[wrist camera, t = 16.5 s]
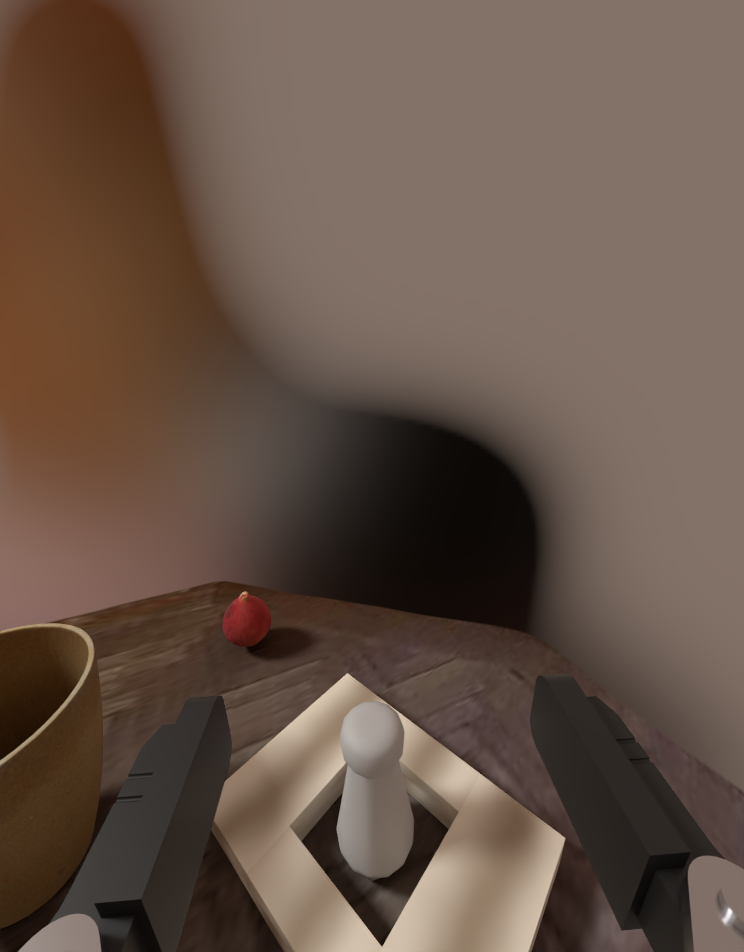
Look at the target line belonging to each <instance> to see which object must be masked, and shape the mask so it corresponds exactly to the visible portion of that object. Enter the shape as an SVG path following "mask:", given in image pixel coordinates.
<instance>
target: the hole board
mask: <svg viewBox="0 0 744 952" xmlns="http://www.w3.org/2000/svg"><path fill="white" fill-rule="evenodd" d="M370 701H378V702H381V703H384V704H387V703H386V702H385V701H383V700H382V699H381V698H379V697H378V696H377V695H375V694H374V693H373V692H371V691H370V690H369V689H367V688H366V687H365V686H363V685H362V684H361V683H359V682H358V681H357V680H356V679H354V678H353V677H352V676H350V675H349V674H348V673H347V674H346V675H345V676H344V677H343V678H342V679H340V680H339V681H338V682H337V683H336V684H335V685H334V686H332V687H331V688H330V689H329V690H328V691H327V692H326V693H325V694H323V695H322V696H321V697H320V698H319V699H318V700H317V701H315V702H314V703H313V704H312V705H311V706H310V707H309V708H308V709H306V710H305V711H304V712H303V713H302V714H301V715H300V716H298V717H297V718H296V719H295V720H294V721H293V722H292V723H291V724H289V725H288V726H287V727H286V728H285V729H284V730H283V731H281V732H280V733H279V734H278V735H277V736H276V737H275V738H274V739H272V740H271V741H270V742H269V743H268V744H267V745H266V746H264V747H263V748H262V749H261V750H260V751H259V752H258V753H257V754H255V755H254V756H253V757H252V758H251V759H250V760H249V761H247V762H246V763H245V764H244V765H243V766H242V767H241V768H240V769H238V770H237V771H236V772H235V773H234V774H233V775H232V776H230V777H229V778H228V779H227V780H226V781H225V782H224V786H223V789H222V793H221V796H220V800H219V803H218V807H217V811H216V814H215V818H214V821H213V825H212V828H211V830H212V832H213V834H214V835H215V837H216V839H217V840H218V842H219V844H220V845H221V847H222V849H223V851H224V852H225V854H226V856H227V857H228V859H229V861H230V862H231V864H232V866H233V867H234V869H235V871H236V872H237V874H238V876H239V877H240V879H241V881H242V882H243V884H244V886H245V887H246V889H247V891H248V892H249V894H250V896H251V898H252V899H253V901H254V903H255V904H256V906H257V908H258V909H259V911H260V913H261V914H262V916H263V918H264V919H265V921H266V923H267V924H268V926H269V928H270V929H271V931H272V933H273V934H274V936H275V938H276V940H277V941H278V943H279V945H280V946H281V948H282V950H283V951H284V952H531V951H532V948H533V945H534V942H535V939H536V936H537V933H538V930H539V926H540V923H541V920H542V917H543V914H544V911H545V908H546V905H547V902H548V898H549V895H550V892H551V889H552V886H553V883H554V880H555V877H556V874H557V870H558V867H559V864H560V860H561V856H562V851H563V847H564V842H565V838H564V837H563V836H562V835H560V834H559V833H558V832H557V831H555V830H554V829H553V828H551V827H550V826H549V825H547V824H546V823H545V822H543V821H542V820H541V819H539V818H538V817H537V816H535V815H534V814H533V813H531V812H530V811H529V810H527V809H526V808H525V807H523V806H522V805H521V804H519V803H518V802H517V801H516V800H514V799H513V798H512V797H510V796H509V795H508V794H506V793H505V792H504V791H502V790H501V789H500V788H498V787H497V786H496V785H494V784H493V783H492V782H490V781H489V780H488V779H486V778H485V777H484V776H482V775H481V774H480V773H478V772H477V771H476V770H475V769H473V768H472V767H471V766H469V765H468V764H467V763H465V762H464V761H463V760H461V759H460V758H459V757H457V756H456V755H455V754H453V753H452V752H451V751H449V750H448V749H447V748H445V747H444V746H443V745H441V744H440V743H439V742H437V741H436V740H435V739H434V738H432V737H431V736H430V735H428V734H427V733H426V732H424V731H423V730H422V729H420V728H419V727H418V726H416V725H415V724H414V723H412V722H411V721H410V720H408V719H407V718H406V717H404V716H403V715H402V714H400V713H399V712H398V711H397V710H395V709H394V708H393V707H391V706H390V705H389V704H387V705H389V706H390V707H391V708H392V709H393V710H395V711H396V712H397V713H398V715H399V717H400V720H401V722H402V725H403V728H404V732H405V734H404V746H403V755H402V756H401V758H400V760H399V763H400V767H401V771H402V775H403V779H404V783H405V787H406V790H407V792H408V793H409V794H411V795H412V796H413V797H414V798H415V799H416V800H417V801H418V802H419V803H420V804H422V805H423V806H424V807H425V808H426V809H427V810H428V811H429V812H430V813H431V814H433V815H434V816H435V817H436V818H437V819H438V820H439V821H440V822H441V823H442V824H444V825H445V826H446V827H447V828H448V829H449V830H448V832H447V834H446V836H445V837H444V839H443V841H442V843H441V844H440V846H439V848H438V850H437V851H436V853H435V855H434V857H433V858H432V860H431V862H430V864H429V865H428V867H427V869H426V871H425V872H424V874H423V876H422V878H421V880H420V881H419V883H418V885H417V887H416V888H415V890H414V892H413V894H412V895H411V897H410V899H409V901H408V902H407V904H406V906H405V908H404V909H403V911H402V913H401V915H400V917H399V918H398V920H397V922H396V924H395V925H394V927H393V929H392V931H391V932H390V934H389V936H388V938H387V939H386V941H385V943H384V945H383V946H381V945H380V944H379V943H378V941H377V940H376V939H375V937H374V936H373V935H372V933H371V932H370V931H369V929H368V928H367V927H366V926H365V924H364V923H363V922H362V920H361V919H360V918H359V916H358V915H357V914H356V913H355V911H354V910H353V909H352V907H351V906H350V905H349V903H348V902H347V901H346V900H345V898H344V897H343V896H342V894H341V893H340V892H339V890H338V889H337V888H336V886H335V885H334V884H333V883H332V881H331V880H330V879H329V877H328V876H327V875H326V873H325V872H324V871H323V870H322V868H321V867H320V866H319V864H318V863H317V862H316V860H315V859H314V858H313V856H312V855H311V854H310V853H309V851H308V850H307V849H306V847H305V846H304V845H303V843H302V842H301V841H302V840H303V839H304V838H305V836H306V835H307V834H308V833H309V832H310V831H311V829H312V828H313V827H314V826H315V825H316V823H317V822H318V821H319V820H320V819H321V818H322V816H323V815H324V814H325V813H326V812H327V810H328V809H329V808H330V807H331V806H332V805H333V803H334V802H335V801H336V800H337V799H338V797H339V796H340V795H341V794H342V793H343V789H344V784H345V778H346V772H347V767H348V764H347V763H346V762H345V760H344V758H343V753H342V748H341V743H340V734H341V729H342V725H343V720H344V718H345V716H346V715H347V714H348V713H349V711H350V710H351V709H352V708H353V707H355V706H357V705H359V704H361V703H363V702H370Z"/></svg>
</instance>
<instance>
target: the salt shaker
mask: <svg viewBox="0 0 744 952" xmlns="http://www.w3.org/2000/svg"><path fill="white" fill-rule="evenodd" d="M404 734H405V732H404V728H403V725H402V722H401V720H400V717H399V715H398V713H397V712H396V711H395V710H393V709H392V708H391V707H390V706H389V705H387V704H384V703H381V702H378V701H370V702H363V703H361V704H359V705H357V706H355V707H353V708H352V709H351V710H350V711H349V713H348V714H347V715H346V716H345V718H344V720H343V725H342V729H341V734H340V743H341V748H342V753H343V758H344V760H345V762H346V763H347V764H348V767H347V772H346V778H345V784H344V789H343V795H342V801H341V806H340V812H339V817H338V823H337V828H336V829H337V835H338V841H339V846H340V851H341V854H342V855H343V857H344V858H345V860H346V861H347V862H348V864H349V865H350V867H351V868H352V870H353V871H355V872H357V873H359V874H361V875H363V876H365V877H367V878H369V879H370V880H371V881H374V880H376V879H379V878H383V877H389V876H390V875H391V874H392V873H394V872H395V871H396V870H398V869H399V868H400V867H401V866H402V865H404V862H405V860H406V858H407V856H408V853H409V851H410V849H411V847H412V844H413V833H414V818H413V814H412V810H411V806H410V802H409V798H408V794H407V790H406V787H405V783H404V779H403V775H402V771H401V767H400V763H399V760H400V758H401V756H402V755H403V746H404Z"/></svg>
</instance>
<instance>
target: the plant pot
mask: <svg viewBox="0 0 744 952" xmlns="http://www.w3.org/2000/svg"><path fill="white" fill-rule="evenodd" d="M102 759H103V716H102V702H101V689H100V681H99V673H98V666H97V659H96V654H95V649H94V644H93V642H92V639H91V638H90V636H89V635H88V634H87V633H86V632H85V631H83V630H82V629H80V628H77V627H74V626H71V625H65V624H36V625H29V626H22V627H17V628H11V629H8V630H4V631H0V929H1V928H4V927H7V926H10V925H12V924H14V923H16V922H18V921H20V920H22V919H24V918H25V917H27V916H29V915H30V914H31V913H33V912H34V911H36V910H37V909H38V908H40V907H41V906H42V905H43V904H45V903H46V902H47V901H48V900H49V899H50V898H52V897H53V896H54V895H55V894H56V893H57V892H58V891H59V890H60V889H61V888H62V887H63V885H64V884H65V883H66V882H67V881H68V879H69V878H70V877H71V876H72V874H73V873H74V872H75V870H76V869H77V867H78V866H79V864H80V862H81V861H82V859H83V857H84V856H85V854H86V851H87V849H88V847H89V845H90V842H91V839H92V836H93V831H94V826H95V821H96V815H97V809H98V803H99V795H100V786H101V775H102Z"/></svg>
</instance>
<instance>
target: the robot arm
mask: <svg viewBox="0 0 744 952" xmlns="http://www.w3.org/2000/svg"><path fill="white" fill-rule="evenodd" d="M530 726H531V731H532V736H533V739H534V742H535V745H536V747H537V749H538V751H539V754H540V756H541V758H542V760H543V762H544V764H545V766H546V769H547V771H548V773H549V775H550V777H551V779H552V782H553V784H554V786H555V788H556V790H557V792H558V794H559V797H560V799H561V801H562V803H563V805H564V807H565V809H566V812H567V814H568V816H569V818H570V820H571V822H572V825H573V827H574V829H575V831H576V833H577V835H578V837H579V840H580V842H581V844H582V846H583V848H584V850H585V852H586V855H587V857H588V859H589V861H590V863H591V865H592V868H593V870H594V872H595V874H596V876H597V878H598V880H599V883H600V885H601V887H602V889H603V891H604V893H605V895H606V898H607V900H608V902H609V904H610V906H611V908H612V910H613V913H614V915H615V917H616V919H617V921H618V923H619V926H620V928H621V930H632V929H643V931H644V933H645V935H646V937H647V939H648V941H649V943H650V945H651V947H652V949H653V951H652V952H744V869H742V868H740V867H739V866H737V865H735V864H733V863H731V862H729V861H727V860H725V859H724V858H723V857H722V856H721V854H720V853H719V852H718V851H717V850H716V849H715V847H714V846H713V845H712V844H711V842H710V841H709V840H708V838H707V837H706V835H705V834H704V833H703V831H702V830H701V829H700V827H699V826H698V824H697V823H696V822H695V820H694V819H693V818H692V816H691V815H690V813H689V812H688V811H687V809H686V808H685V807H684V805H683V804H682V802H681V801H680V800H679V798H678V797H677V796H676V794H675V793H674V791H673V790H672V789H671V787H670V786H669V784H668V783H667V782H666V780H665V779H664V778H663V776H662V775H661V773H660V772H659V771H658V769H657V768H656V767H655V765H654V764H653V763H651V762H650V760H649V757H648V756H647V754H646V753H645V751H644V750H643V749H642V747H641V746H640V744H639V743H636V741H635V738H634V736H633V735H632V733H631V732H630V731H629V729H628V728H627V727H626V725H625V724H624V722H623V721H622V720H621V718H620V717H619V716H618V714H616V713H615V712H614V711H613V710H612V709H610V708H609V707H608V706H607V705H606V704H605V703H603V702H602V701H601V700H600V699H599V698H598V697H596V696H593V697H586V695H585V694H584V692H583V691H582V689H581V688H580V686H579V685H578V683H577V682H576V681H575V679H574V678H573V677H572V676H571V675H569V674H558V675H543V676H538V677H537V680H536V685H535V691H534V697H533V703H532V709H531V715H530ZM231 748H232V741H231V734H230V729H229V724H228V719H227V714H226V710H225V705H224V700H223V698H222V696H208V697H193V698H189V699H188V700H187V701H186V703H185V704H184V706H183V708H182V711H181V713H180V715H179V717H178V719H177V722H176V724H171V725H162V726H161V727H160V728H159V730H158V731H157V732H156V733H155V734H154V735H153V736H152V737H151V739H150V740H149V741H148V742H147V743H146V744H145V745H144V746H143V748H142V749H141V751H140V753H139V755H138V757H137V759H136V761H135V763H134V765H133V767H132V769H131V771H130V773H129V777H128V779H127V780H126V781H125V783H124V784H123V786H122V788H121V790H120V792H119V794H118V796H117V801H116V803H114V804H113V806H112V808H111V810H110V812H109V814H108V816H107V818H106V820H105V822H104V824H103V826H102V828H101V830H100V832H99V834H98V835H97V837H96V839H95V841H94V843H93V845H92V847H91V849H90V851H89V853H88V855H87V857H86V859H85V861H84V863H83V865H82V867H81V869H80V871H79V873H78V875H77V877H76V879H75V881H74V883H73V884H72V886H71V888H70V890H69V892H68V894H67V896H66V898H65V900H64V902H63V903H62V905H61V907H60V909H59V910H58V912H57V913H56V915H55V916H54V918H53V919H52V920H51V922H50V923H49V924H48V925H47V926H46V927H44V928H43V929H42V930H40V931H39V932H38V933H37V934H35V935H34V936H33V937H32V938H31V939H30V940H29V941H28V942H27V943H26V944H25V945H24V946H23V947H22V948H21V949H20V950H19V951H18V952H177V949H178V945H179V942H180V938H181V934H182V931H183V927H184V924H185V920H186V917H187V913H188V910H189V906H190V903H191V899H192V895H193V892H194V888H195V885H196V881H197V878H198V874H199V871H200V867H201V864H202V860H203V857H204V853H205V849H206V846H207V842H208V839H209V835H210V832H211V828H212V825H213V821H214V818H215V814H216V811H217V807H218V803H219V800H220V796H221V793H222V789H223V786H224V782H225V779H226V775H227V772H228V768H229V764H230V758H231Z"/></svg>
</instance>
